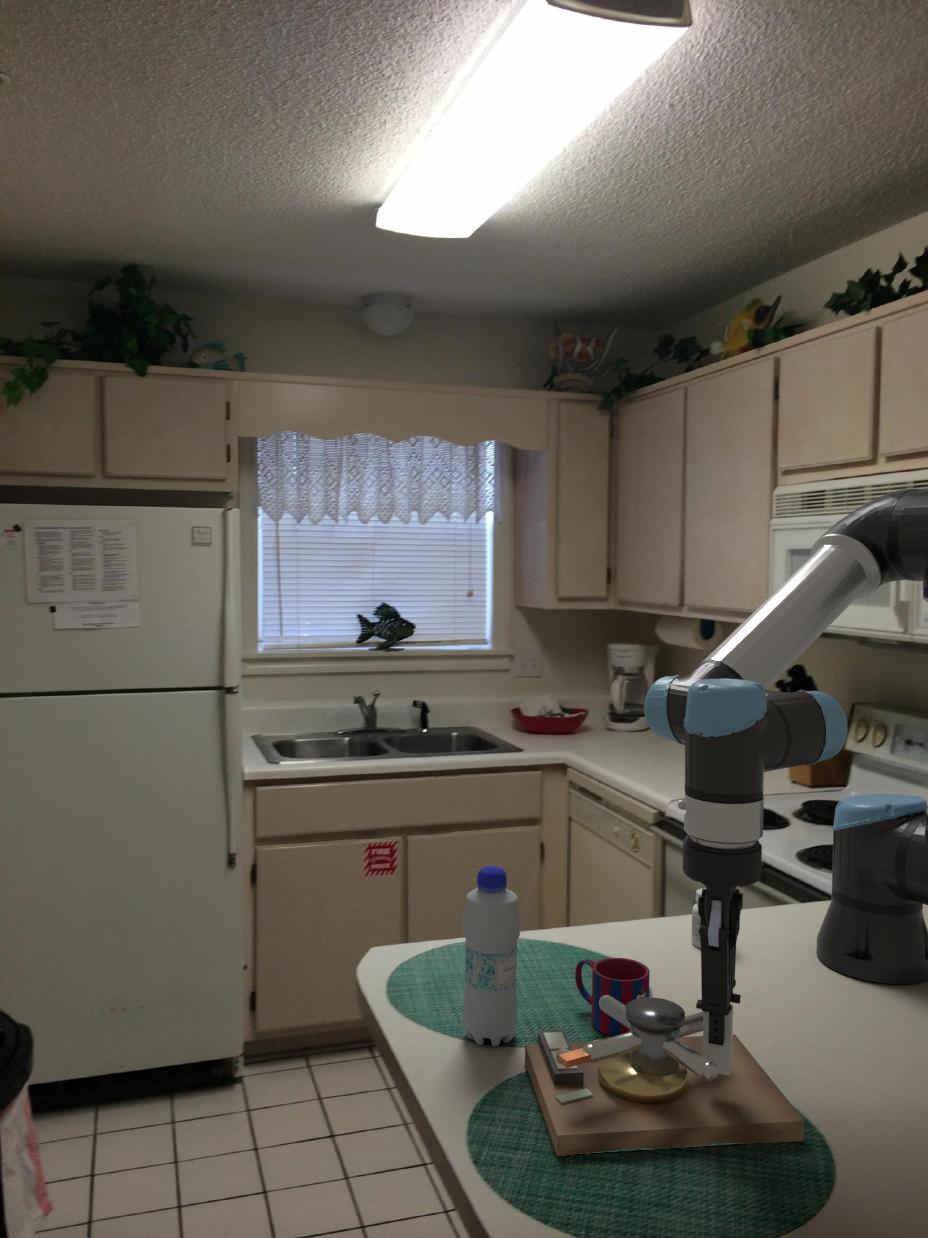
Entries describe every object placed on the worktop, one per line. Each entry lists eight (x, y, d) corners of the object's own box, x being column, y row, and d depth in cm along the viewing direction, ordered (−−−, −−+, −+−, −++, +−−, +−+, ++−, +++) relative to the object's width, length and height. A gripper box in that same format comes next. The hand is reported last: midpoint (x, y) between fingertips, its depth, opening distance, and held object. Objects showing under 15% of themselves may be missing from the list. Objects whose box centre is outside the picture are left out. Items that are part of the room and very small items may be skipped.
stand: (732, 1049, 111) (734, 1011, 111) (803, 1141, 94) (805, 1096, 94) (524, 1060, 108) (524, 1021, 108) (557, 1156, 91) (557, 1110, 91)
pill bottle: (715, 938, 144) (717, 886, 143) (727, 950, 139) (729, 896, 139) (686, 939, 143) (688, 887, 143) (698, 951, 139) (699, 898, 138)
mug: (620, 1044, 112) (621, 986, 112) (560, 1011, 120) (561, 957, 120) (660, 1028, 116) (661, 971, 116) (600, 997, 124) (601, 944, 124)
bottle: (500, 1057, 109) (503, 880, 108) (449, 1041, 112) (451, 869, 111) (529, 1033, 115) (532, 864, 113) (480, 1018, 118) (482, 854, 117)
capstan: (781, 1094, 98) (783, 1028, 97) (618, 1152, 88) (619, 1079, 87) (664, 1019, 113) (665, 962, 113) (514, 1061, 103) (514, 999, 103)
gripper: (692, 817, 104) (688, 1033, 105) (673, 852, 92) (668, 1095, 93) (766, 824, 101) (761, 1046, 103) (756, 861, 89) (750, 1112, 91)
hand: (717, 1069), depth 98 cm, fingers closed
